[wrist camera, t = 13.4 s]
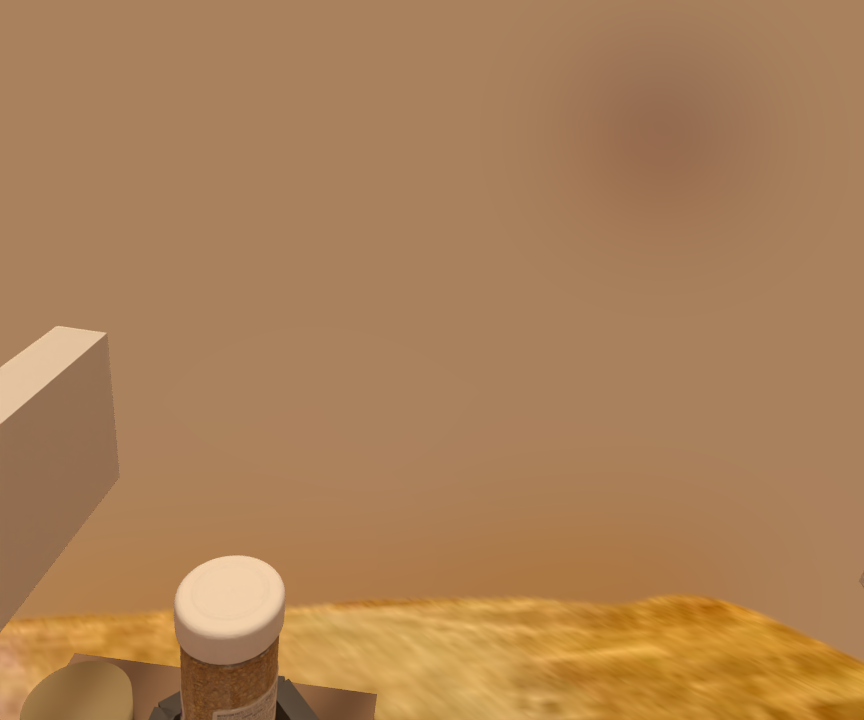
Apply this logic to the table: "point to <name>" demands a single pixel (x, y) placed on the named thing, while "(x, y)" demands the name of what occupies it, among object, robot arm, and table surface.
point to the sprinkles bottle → (229, 639)
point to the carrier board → (166, 695)
